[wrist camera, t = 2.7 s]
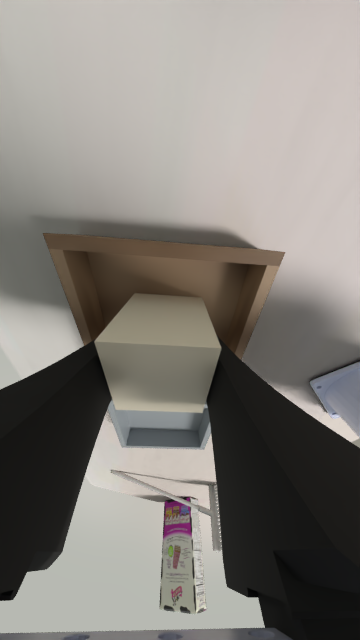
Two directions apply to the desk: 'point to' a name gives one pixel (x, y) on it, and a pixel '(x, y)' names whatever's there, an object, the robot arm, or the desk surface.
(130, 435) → the grey tray
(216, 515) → the brush
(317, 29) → the desk surface
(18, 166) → the desk surface
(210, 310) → the walnut tray
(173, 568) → the candy bar box
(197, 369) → the sandstone block
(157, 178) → the desk surface
